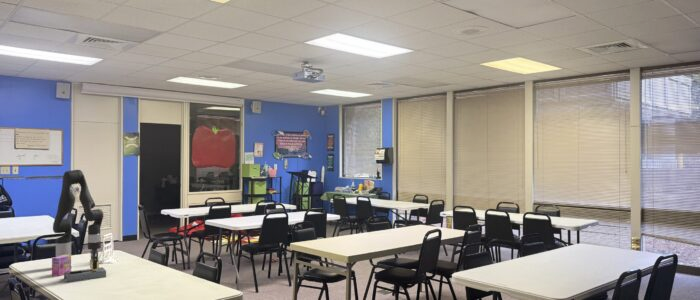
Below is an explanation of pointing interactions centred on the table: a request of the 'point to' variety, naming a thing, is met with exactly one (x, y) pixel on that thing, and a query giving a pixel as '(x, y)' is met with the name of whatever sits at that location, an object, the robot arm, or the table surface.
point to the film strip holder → (108, 260)
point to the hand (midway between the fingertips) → (94, 267)
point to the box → (61, 265)
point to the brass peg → (92, 264)
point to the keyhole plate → (84, 274)
